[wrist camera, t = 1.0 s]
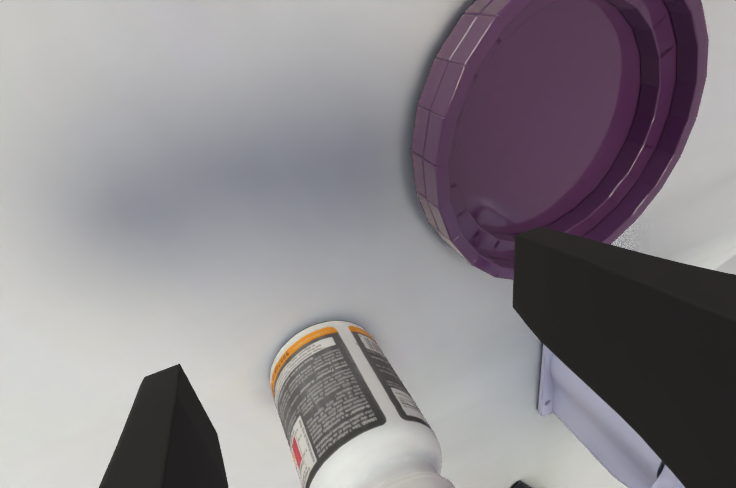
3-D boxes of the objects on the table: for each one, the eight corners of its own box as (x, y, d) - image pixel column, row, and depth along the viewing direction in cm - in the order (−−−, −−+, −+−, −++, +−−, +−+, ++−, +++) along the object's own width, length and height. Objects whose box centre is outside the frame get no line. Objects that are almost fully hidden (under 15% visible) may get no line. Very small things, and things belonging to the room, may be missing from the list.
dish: (631, 208, 28) (670, 226, 25) (421, 291, 24) (447, 321, 22) (683, -79, 20) (747, -86, 18) (386, -17, 16) (421, -17, 14)
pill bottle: (266, 413, 24) (325, 631, 16) (268, 323, 21) (341, 529, 13) (367, 391, 26) (463, 572, 18) (380, 307, 23) (500, 475, 15)
